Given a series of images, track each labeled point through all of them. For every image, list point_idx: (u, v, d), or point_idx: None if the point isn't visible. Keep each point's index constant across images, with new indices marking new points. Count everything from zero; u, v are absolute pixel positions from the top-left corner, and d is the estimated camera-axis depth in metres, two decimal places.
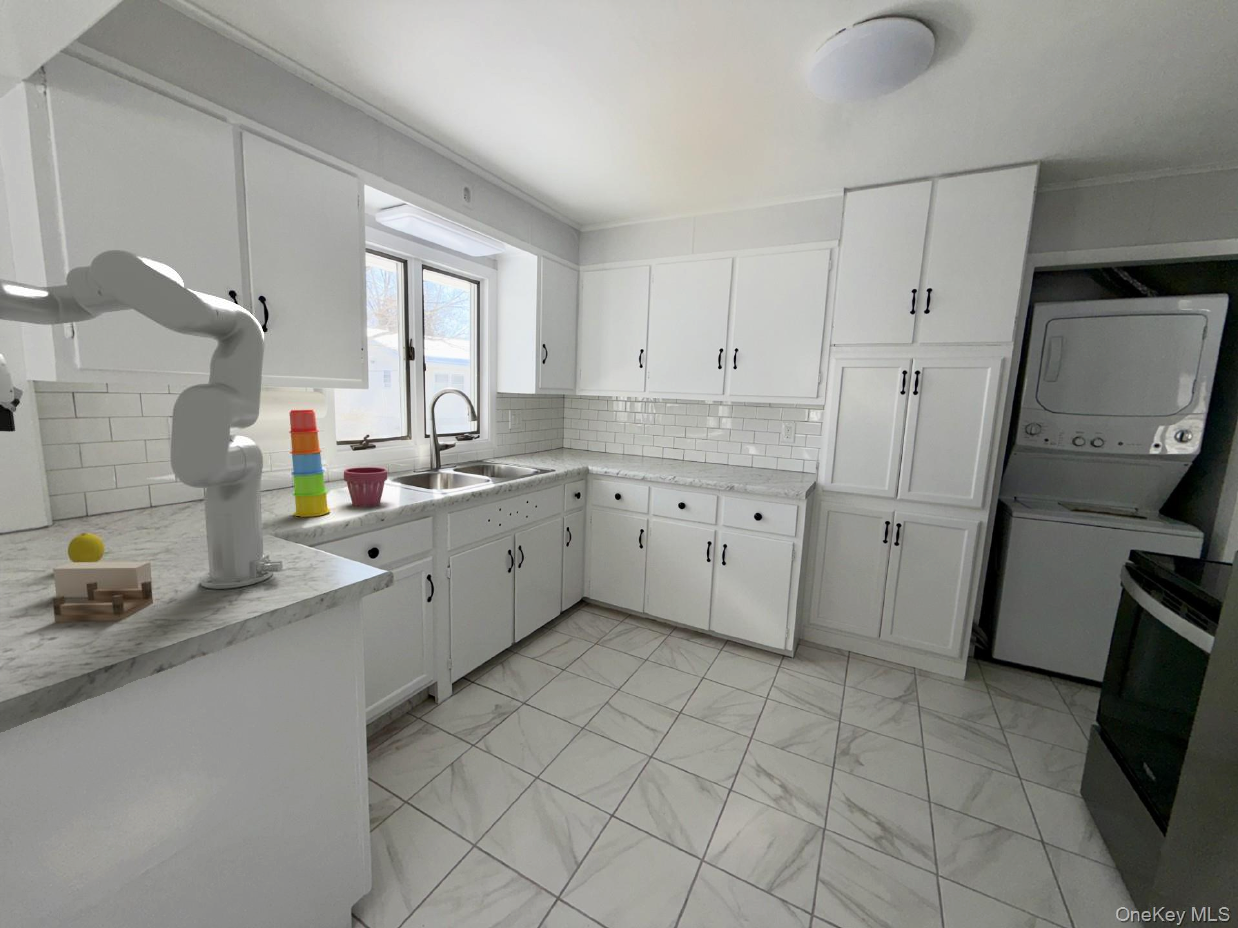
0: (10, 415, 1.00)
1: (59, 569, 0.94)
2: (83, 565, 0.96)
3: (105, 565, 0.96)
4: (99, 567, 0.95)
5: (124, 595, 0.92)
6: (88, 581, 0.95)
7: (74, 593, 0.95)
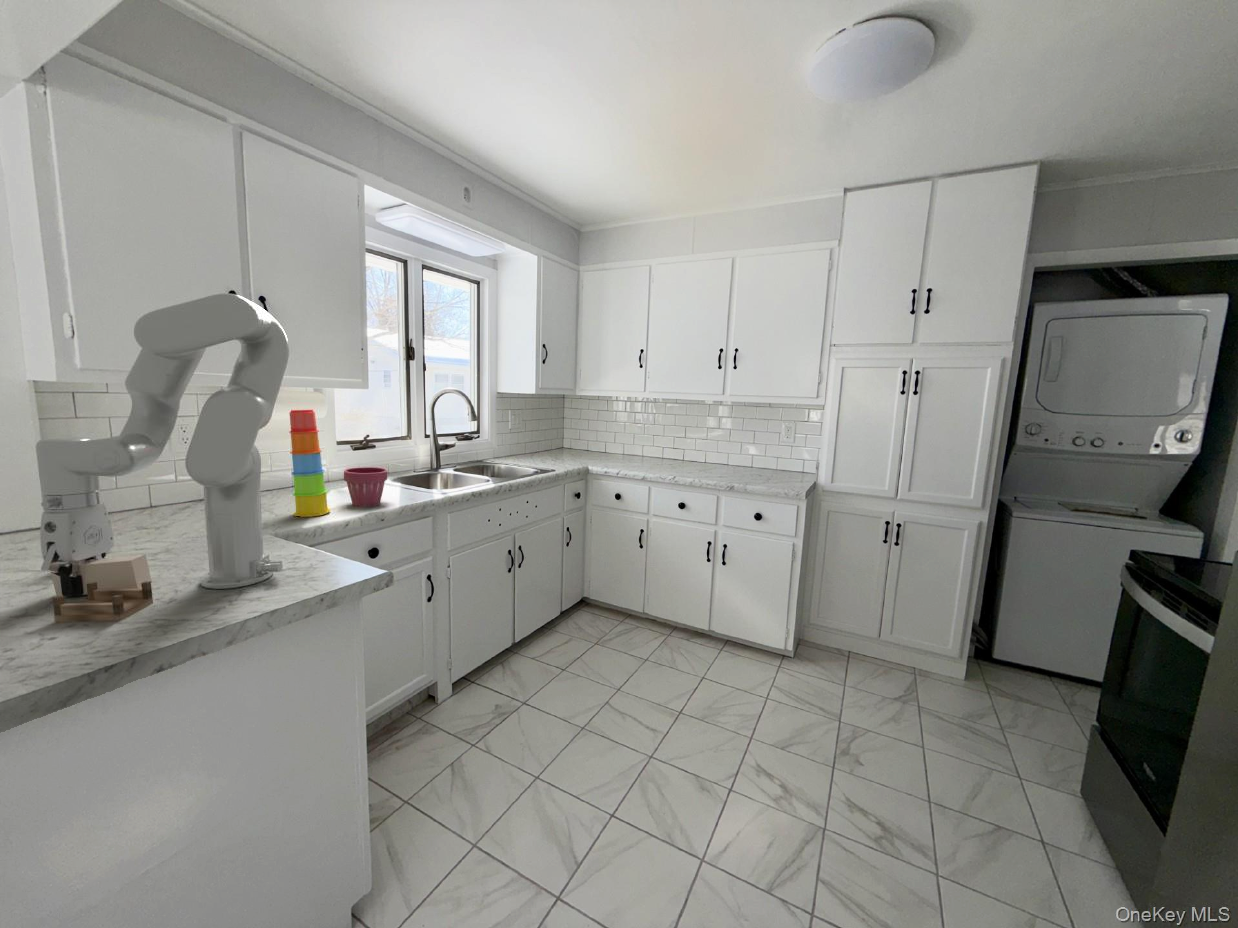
0: None
1: None
2: (80, 563, 0.95)
3: (101, 561, 0.96)
4: (95, 563, 0.95)
5: (124, 595, 0.92)
6: (86, 577, 0.95)
7: None
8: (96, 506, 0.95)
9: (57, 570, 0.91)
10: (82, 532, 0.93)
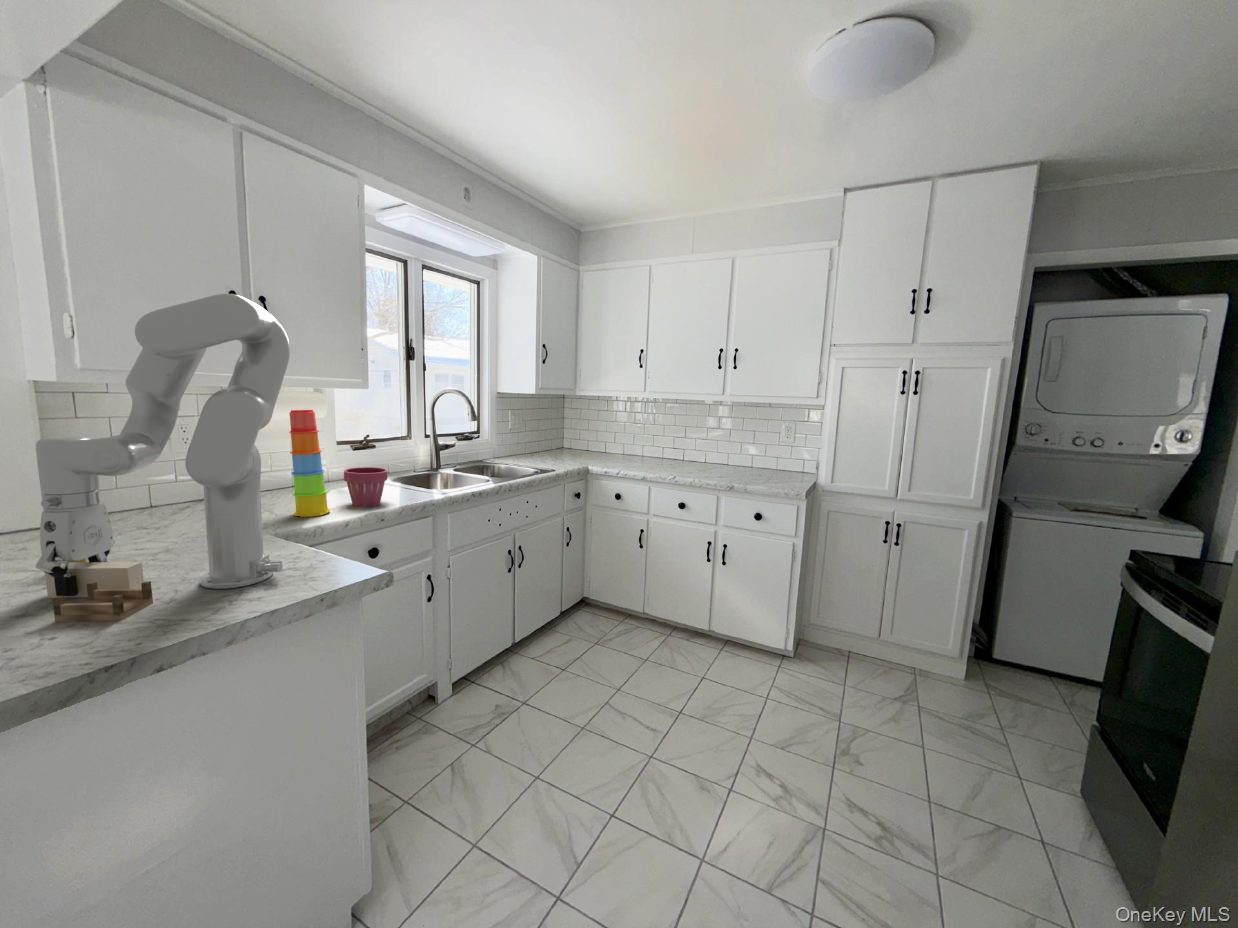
0: None
1: None
2: (75, 566, 0.95)
3: (97, 565, 0.96)
4: (90, 567, 0.95)
5: (124, 595, 0.92)
6: (79, 581, 0.95)
7: None
8: (96, 505, 0.95)
9: (51, 569, 0.90)
10: (82, 531, 0.93)
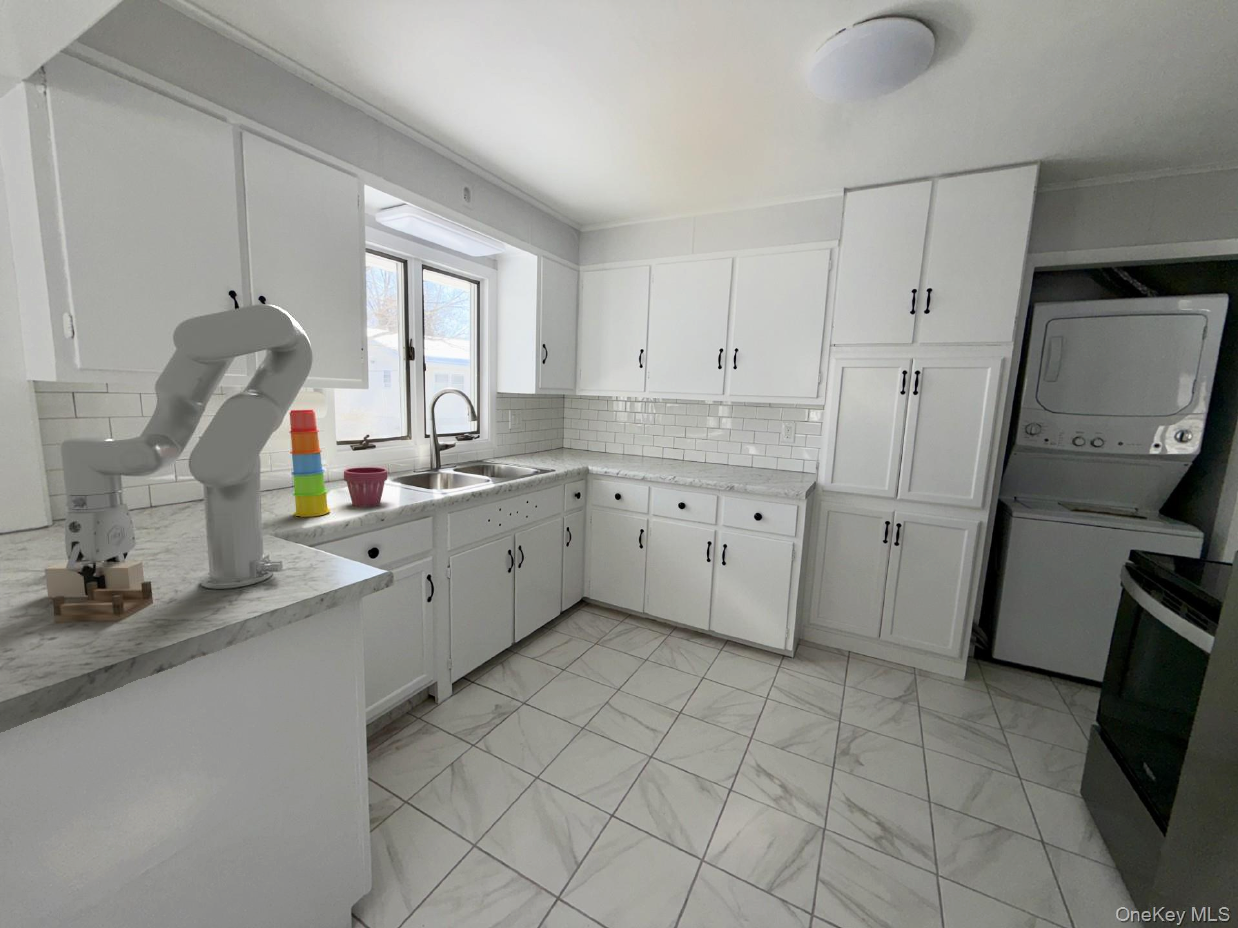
0: None
1: (50, 569, 0.94)
2: None
3: None
4: None
5: (124, 595, 0.92)
6: (80, 581, 0.95)
7: (66, 593, 0.95)
8: (119, 506, 0.96)
9: (81, 570, 0.91)
10: (106, 532, 0.94)
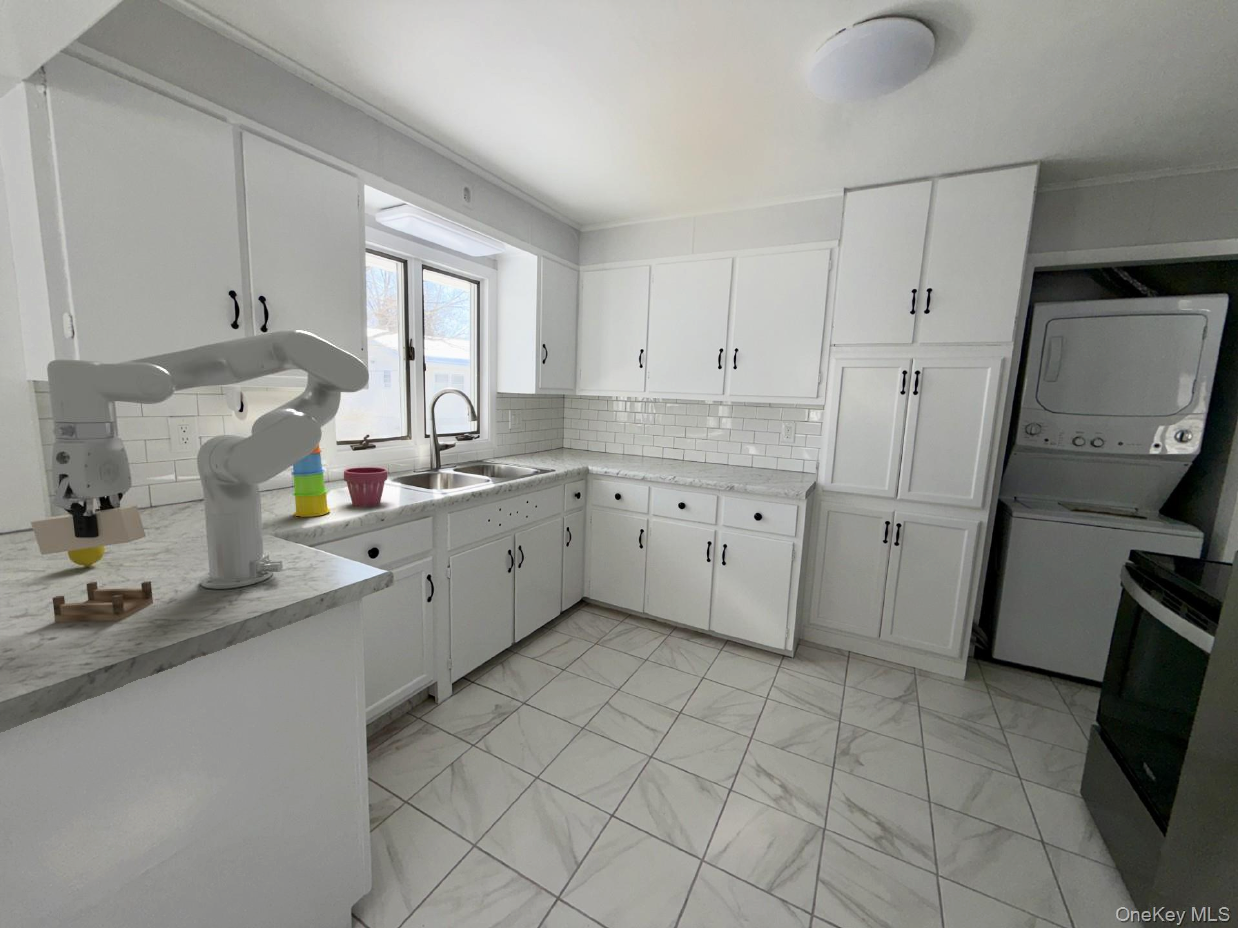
0: None
1: (37, 522, 0.84)
2: (64, 516, 0.86)
3: None
4: None
5: (124, 595, 0.92)
6: (71, 531, 0.85)
7: (60, 546, 0.85)
8: (113, 439, 0.86)
9: (70, 506, 0.82)
10: (98, 466, 0.84)
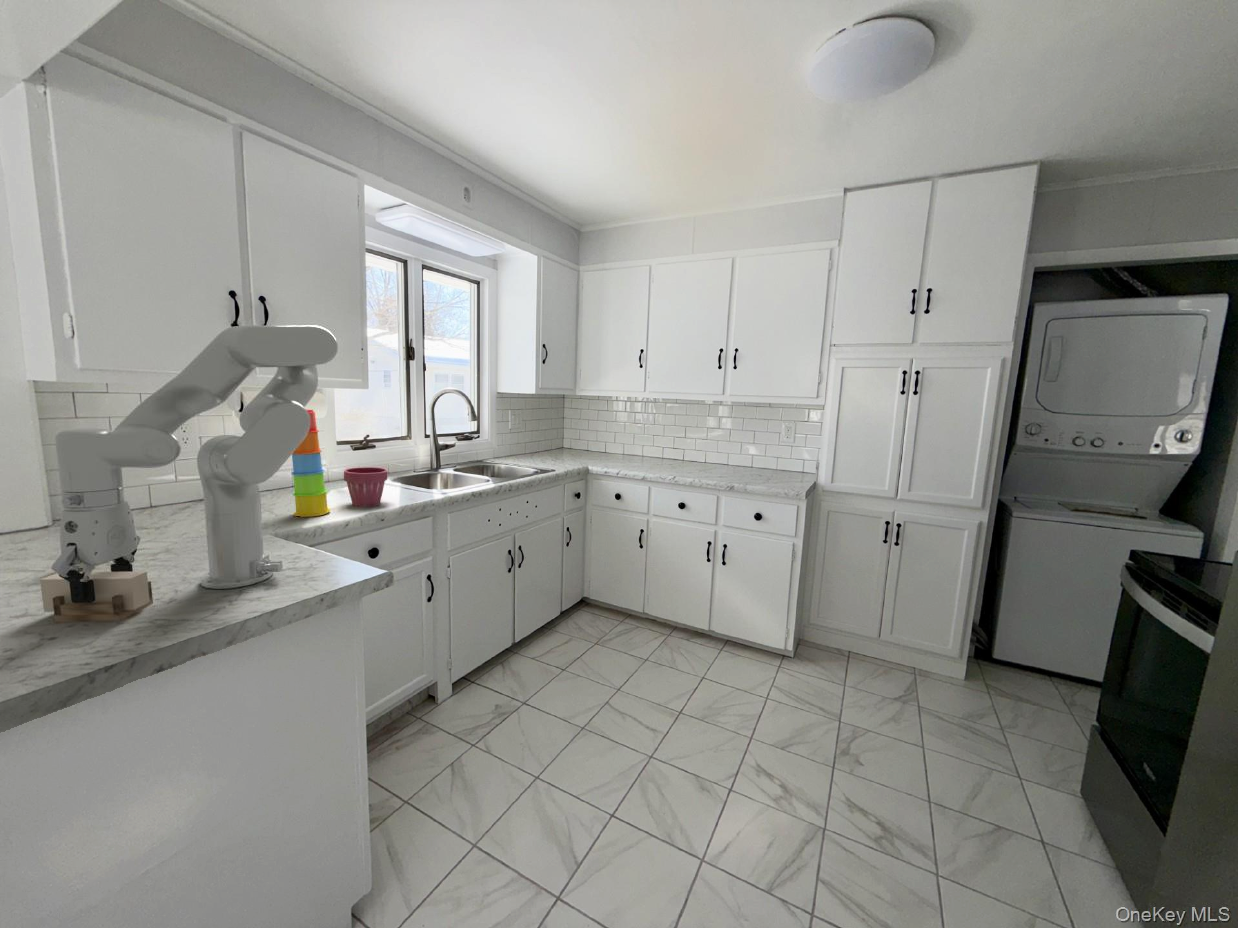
0: (130, 568, 0.93)
1: (47, 580, 0.85)
2: None
3: (97, 575, 0.88)
4: (91, 578, 0.87)
5: None
6: None
7: None
8: (119, 504, 0.87)
9: (67, 572, 0.81)
10: (105, 532, 0.86)
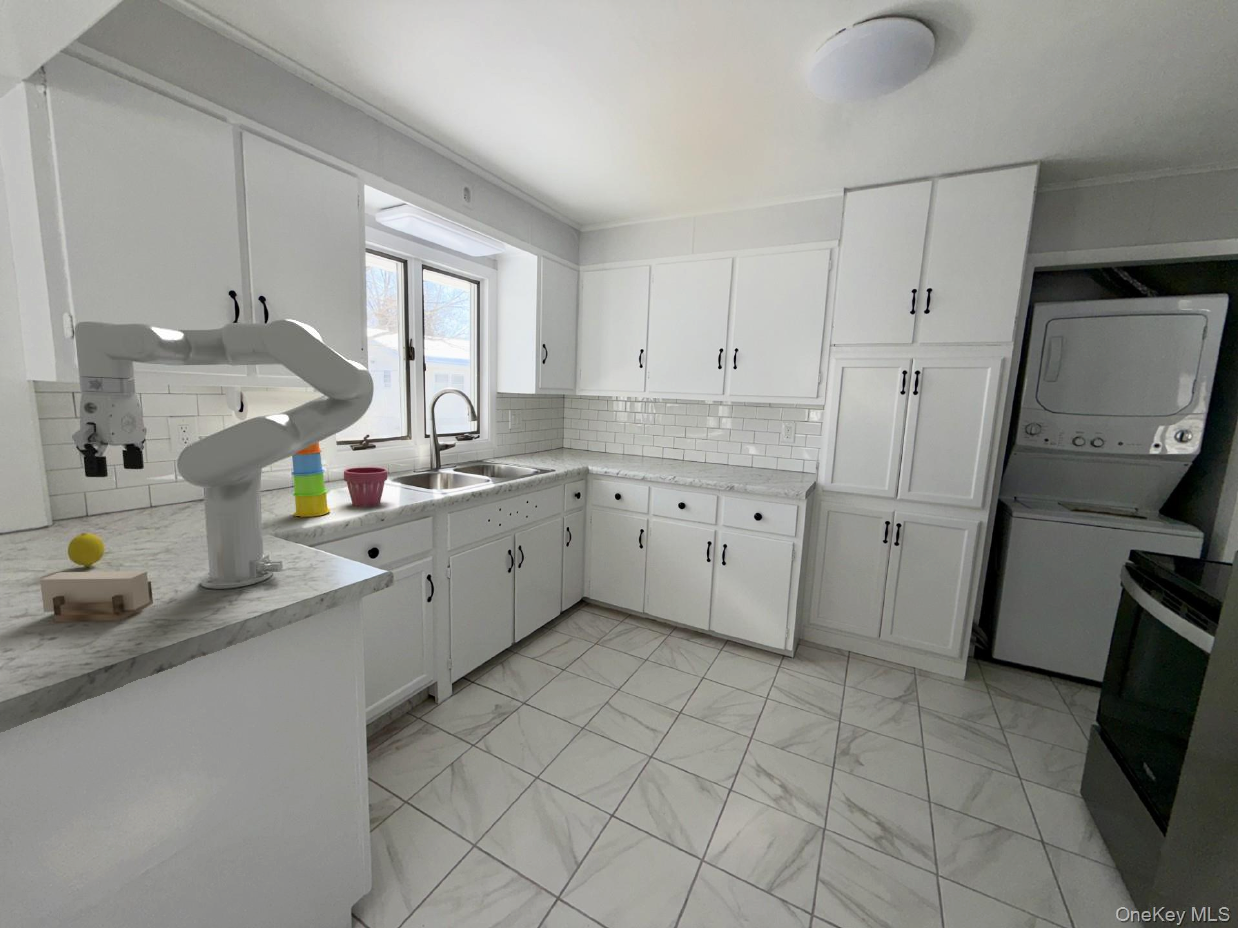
0: (140, 454, 1.03)
1: (47, 580, 0.85)
2: (74, 576, 0.87)
3: (97, 575, 0.88)
4: (91, 578, 0.87)
5: None
6: (79, 593, 0.87)
7: None
8: (132, 394, 0.97)
9: (84, 444, 0.90)
10: (120, 417, 0.95)
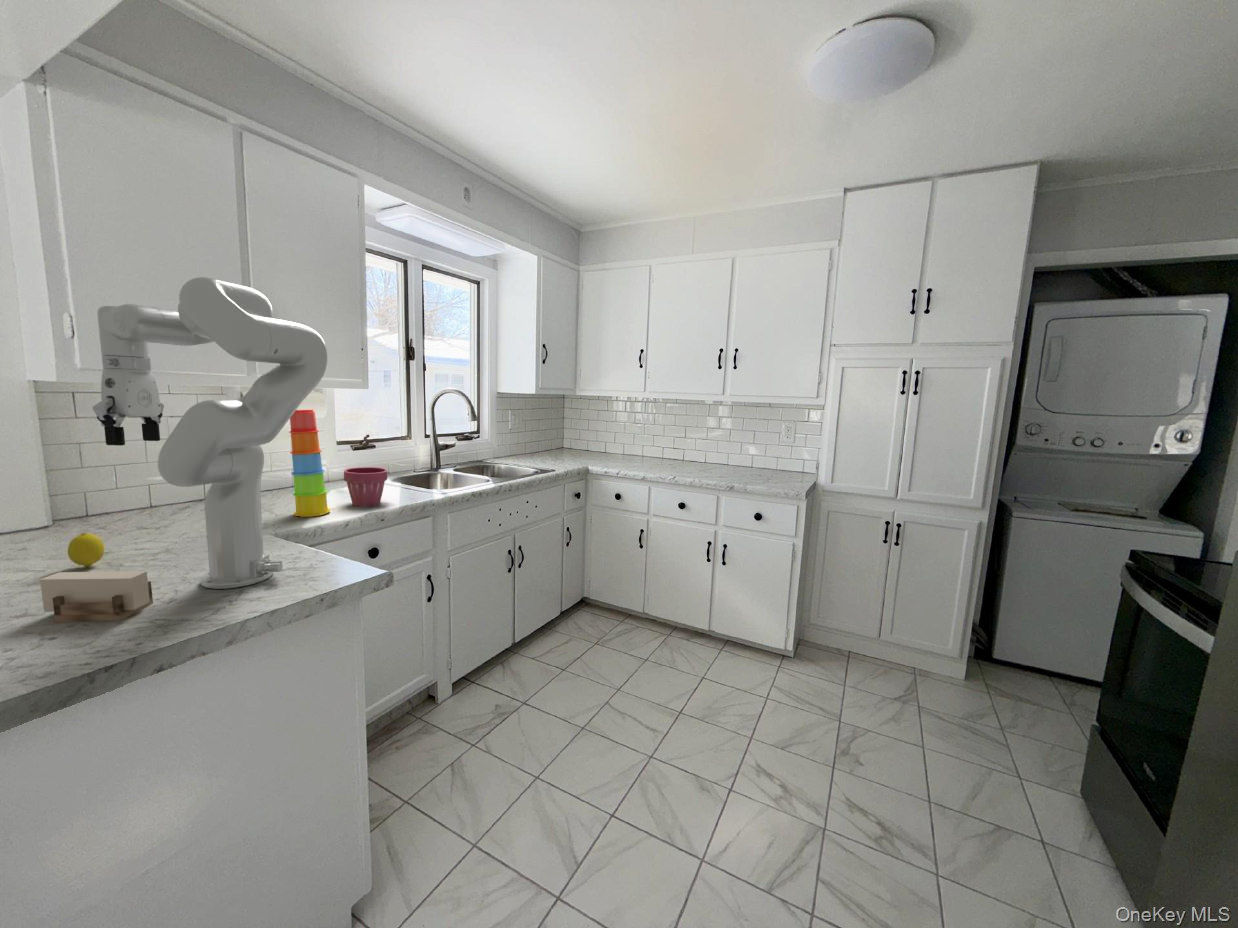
0: (157, 427, 1.13)
1: (47, 580, 0.85)
2: (74, 576, 0.87)
3: (97, 575, 0.88)
4: (91, 578, 0.87)
5: None
6: (79, 593, 0.87)
7: None
8: (147, 371, 1.08)
9: (103, 415, 1.01)
10: (136, 392, 1.06)
